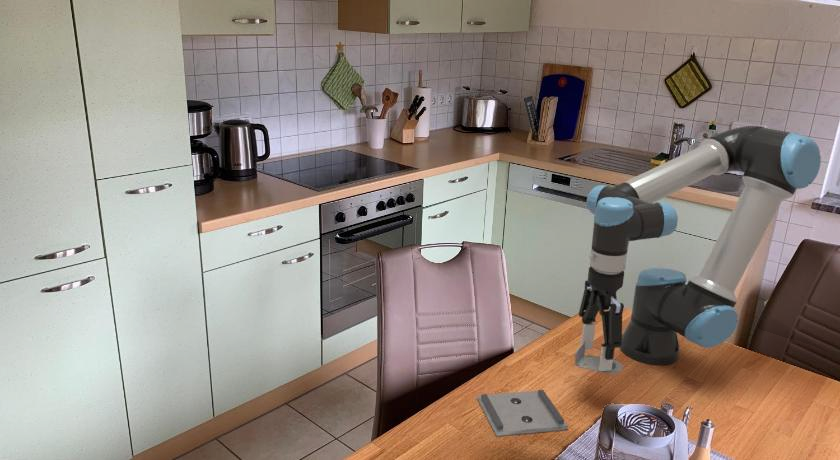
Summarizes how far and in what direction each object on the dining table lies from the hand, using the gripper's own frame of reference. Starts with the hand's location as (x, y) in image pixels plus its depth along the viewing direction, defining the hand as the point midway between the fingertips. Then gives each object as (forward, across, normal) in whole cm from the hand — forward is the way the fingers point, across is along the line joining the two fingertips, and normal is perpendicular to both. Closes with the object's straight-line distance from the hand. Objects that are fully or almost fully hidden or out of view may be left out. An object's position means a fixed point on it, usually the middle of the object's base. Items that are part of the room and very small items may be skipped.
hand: (595, 359), depth 149 cm
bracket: (+1, +1, 0) cm, 2 cm away
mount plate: (+10, +4, -19) cm, 22 cm away
